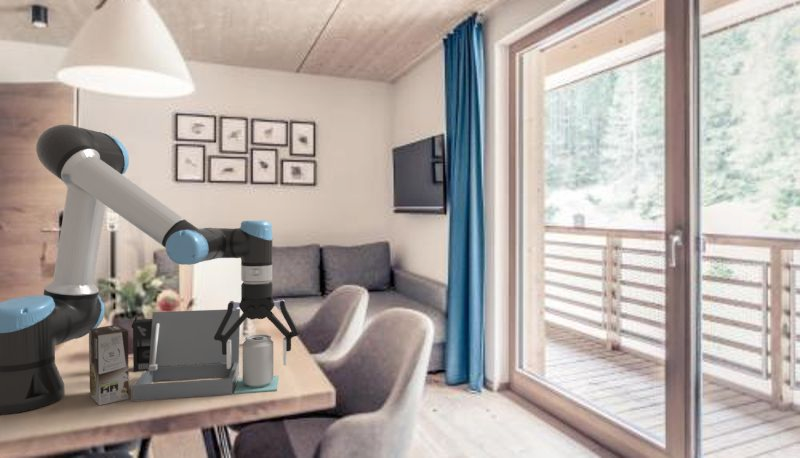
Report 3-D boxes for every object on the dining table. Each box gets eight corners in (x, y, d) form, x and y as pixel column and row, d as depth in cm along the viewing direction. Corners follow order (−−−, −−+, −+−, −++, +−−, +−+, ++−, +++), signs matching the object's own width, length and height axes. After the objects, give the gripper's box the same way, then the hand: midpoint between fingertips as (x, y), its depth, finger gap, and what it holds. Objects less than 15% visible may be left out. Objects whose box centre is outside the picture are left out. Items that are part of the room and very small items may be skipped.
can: (271, 376, 125) (271, 331, 125) (275, 386, 118) (275, 338, 118) (241, 380, 122) (241, 334, 122) (243, 390, 115) (243, 341, 115)
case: (131, 401, 109) (130, 327, 109) (154, 375, 127) (153, 311, 126) (231, 394, 114) (231, 323, 114) (240, 369, 132) (240, 308, 131)
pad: (234, 393, 114) (234, 392, 114) (239, 379, 124) (239, 378, 124) (276, 390, 116) (277, 389, 116) (278, 377, 126) (278, 375, 126)
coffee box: (130, 398, 111) (129, 330, 110) (98, 406, 106) (97, 335, 106) (119, 388, 118) (118, 323, 117) (89, 395, 113) (88, 327, 112)
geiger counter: (175, 363, 137) (174, 311, 137) (173, 368, 133) (172, 314, 133) (134, 367, 134) (133, 314, 133) (131, 372, 129) (130, 317, 129)
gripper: (201, 285, 113) (201, 373, 114) (307, 282, 118) (307, 366, 119) (207, 280, 120) (207, 363, 121) (307, 278, 126) (307, 357, 126)
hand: (257, 365), depth 120 cm, fingers open, 13 cm apart
